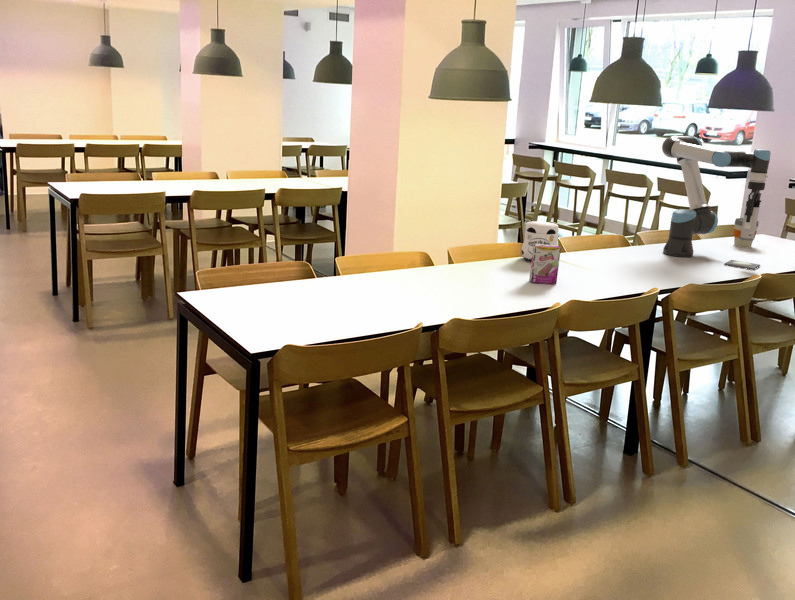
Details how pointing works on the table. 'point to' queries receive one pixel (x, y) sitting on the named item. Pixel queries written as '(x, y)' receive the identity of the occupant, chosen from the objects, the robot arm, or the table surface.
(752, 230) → the travel mug
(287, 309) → the table surface
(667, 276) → the table surface
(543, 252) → the candy bar box
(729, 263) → the pad
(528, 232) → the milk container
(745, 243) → the reusable coffee cup
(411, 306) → the table surface
